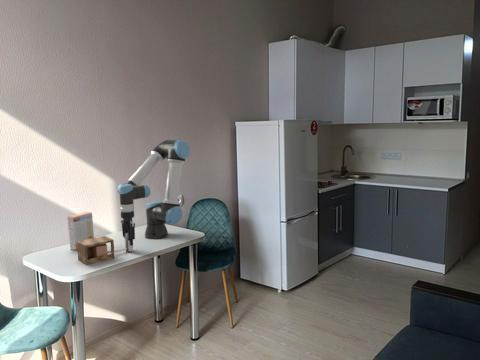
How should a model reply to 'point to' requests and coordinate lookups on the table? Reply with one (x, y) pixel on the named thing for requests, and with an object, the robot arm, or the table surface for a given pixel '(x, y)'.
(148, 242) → the table surface
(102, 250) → the u-shaped stand
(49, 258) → the table surface
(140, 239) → the table surface
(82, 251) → the cubby
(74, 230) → the cracker box
